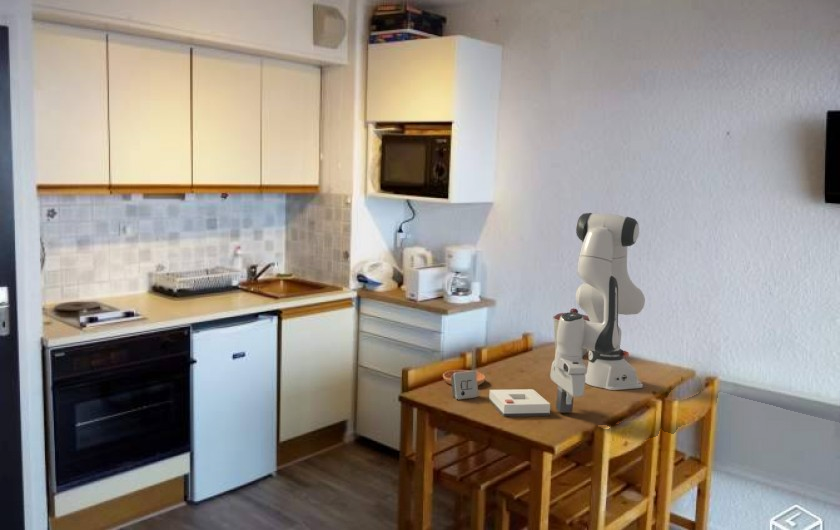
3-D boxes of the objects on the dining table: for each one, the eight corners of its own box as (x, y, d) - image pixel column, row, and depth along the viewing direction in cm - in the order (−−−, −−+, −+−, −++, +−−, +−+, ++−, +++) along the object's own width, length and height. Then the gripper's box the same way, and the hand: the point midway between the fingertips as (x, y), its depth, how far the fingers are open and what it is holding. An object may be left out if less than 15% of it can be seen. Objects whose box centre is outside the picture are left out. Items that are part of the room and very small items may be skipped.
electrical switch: (456, 400, 253) (457, 374, 253) (448, 397, 257) (448, 371, 257) (478, 397, 258) (479, 371, 257) (470, 394, 262) (470, 369, 262)
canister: (567, 347, 339) (571, 303, 336) (599, 357, 325) (603, 310, 322) (541, 352, 328) (545, 306, 325) (573, 362, 314) (577, 314, 311)
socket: (532, 400, 258) (533, 387, 257) (549, 415, 242) (550, 402, 242) (488, 400, 255) (489, 388, 254) (503, 416, 239) (504, 403, 238)
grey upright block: (568, 408, 248) (569, 385, 247) (572, 412, 245) (574, 389, 244) (555, 408, 247) (557, 385, 246) (560, 412, 244) (561, 389, 243)
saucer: (435, 384, 272) (435, 376, 271) (453, 374, 286) (454, 367, 285) (474, 392, 265) (475, 384, 264) (491, 381, 279) (492, 374, 278)
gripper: (547, 353, 253) (544, 391, 255) (571, 370, 233) (568, 411, 235) (564, 353, 254) (561, 391, 256) (589, 370, 234) (586, 411, 236)
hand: (564, 401), depth 246 cm, fingers closed on grey upright block, 4 cm apart
